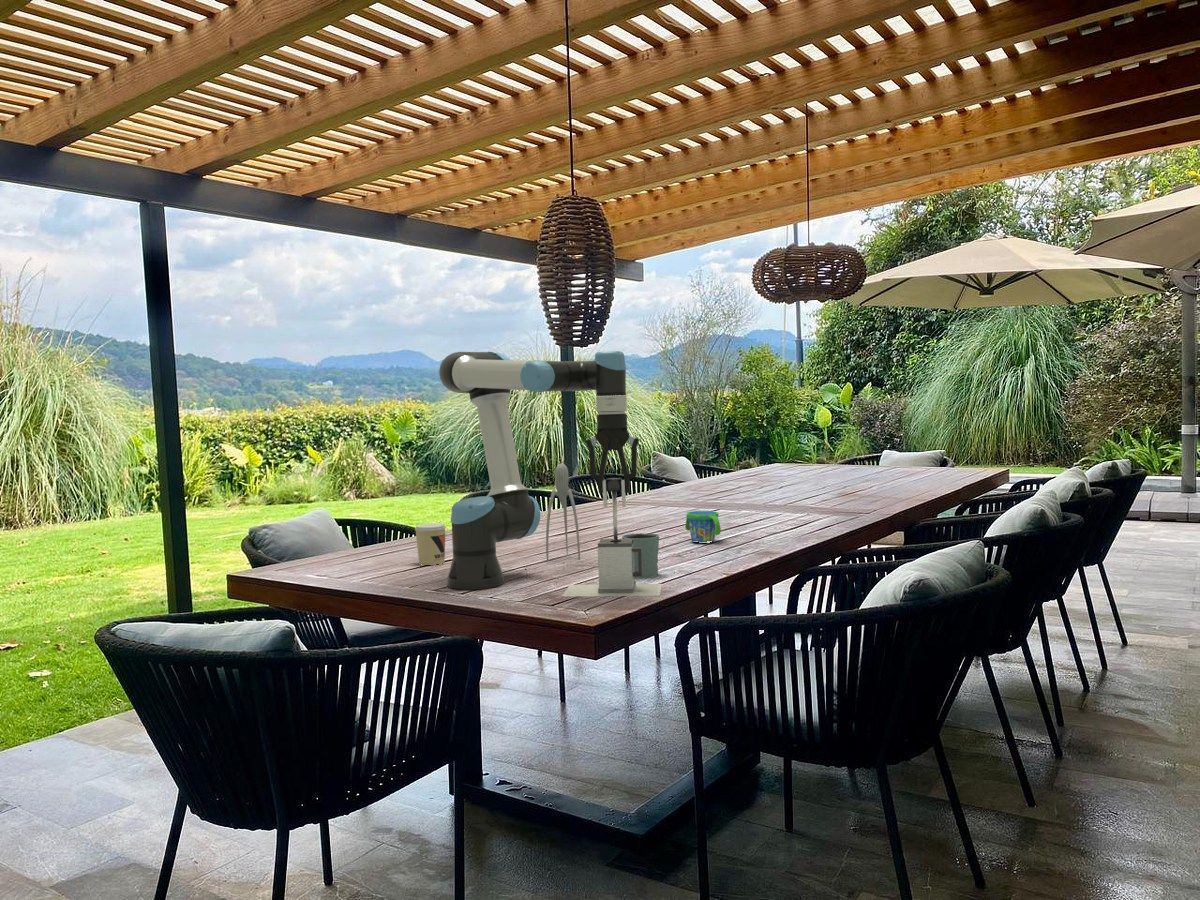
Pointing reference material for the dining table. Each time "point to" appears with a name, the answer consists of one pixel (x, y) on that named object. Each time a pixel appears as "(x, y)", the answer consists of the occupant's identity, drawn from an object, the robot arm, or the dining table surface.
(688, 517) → the snack cup
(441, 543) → the coffee cup
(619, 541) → the block
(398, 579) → the dining table surface
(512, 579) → the dining table surface
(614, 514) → the plunger
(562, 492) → the juicer
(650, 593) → the plate
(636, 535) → the green mug
